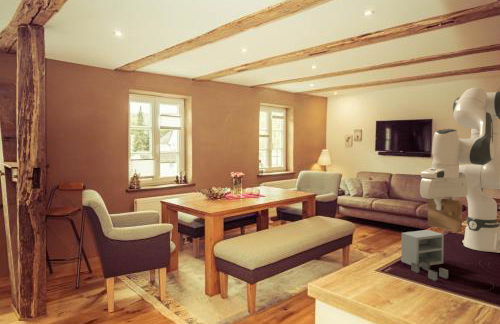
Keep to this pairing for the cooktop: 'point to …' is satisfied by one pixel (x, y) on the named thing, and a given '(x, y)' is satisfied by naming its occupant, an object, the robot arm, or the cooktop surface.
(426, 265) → the hinge clips
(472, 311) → the cooktop surface
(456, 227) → the door
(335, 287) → the cooktop surface
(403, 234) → the cabinet
